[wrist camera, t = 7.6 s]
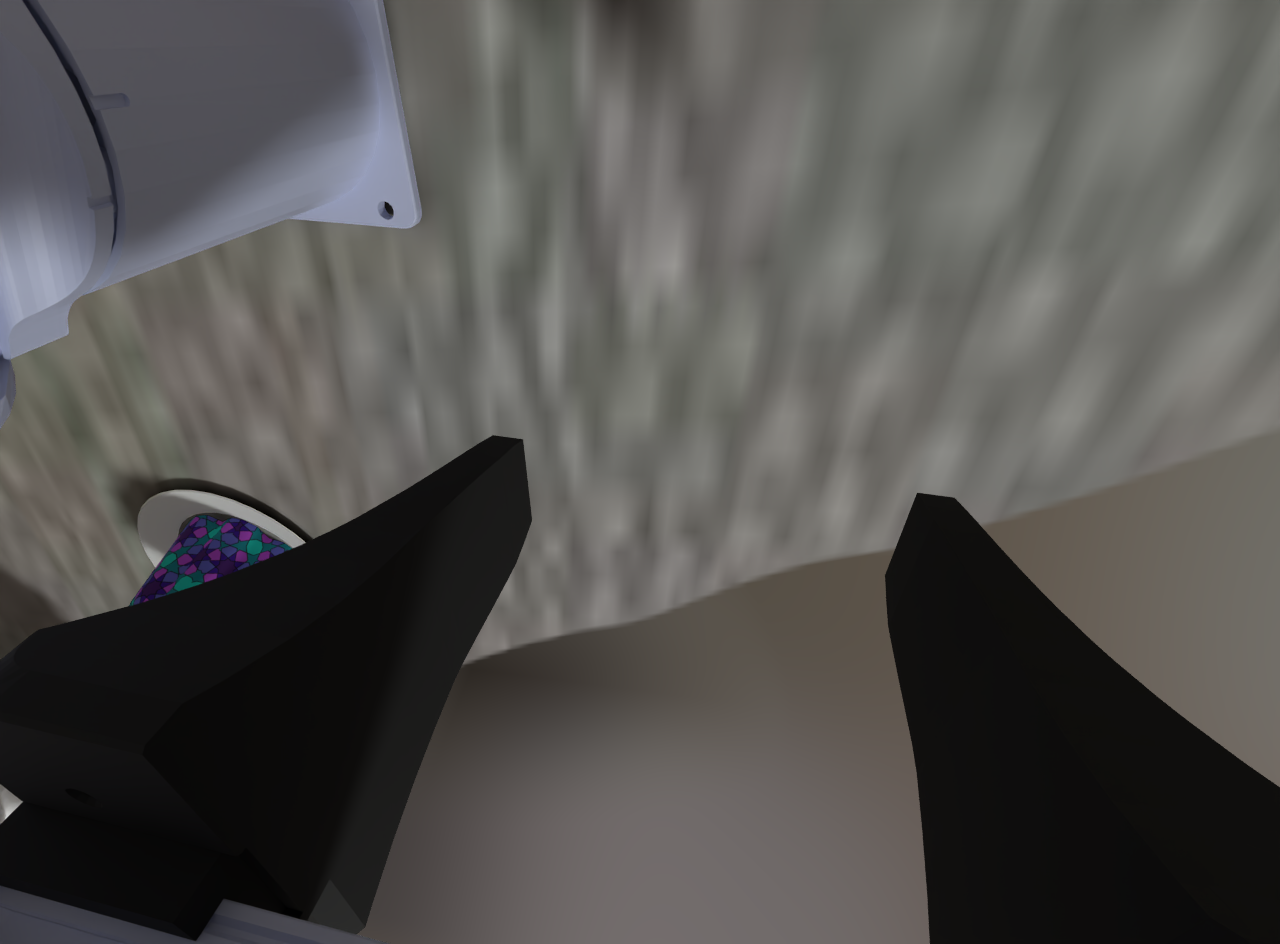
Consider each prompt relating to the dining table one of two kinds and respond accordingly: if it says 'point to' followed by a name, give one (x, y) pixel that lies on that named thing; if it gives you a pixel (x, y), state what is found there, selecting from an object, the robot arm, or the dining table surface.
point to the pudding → (202, 540)
